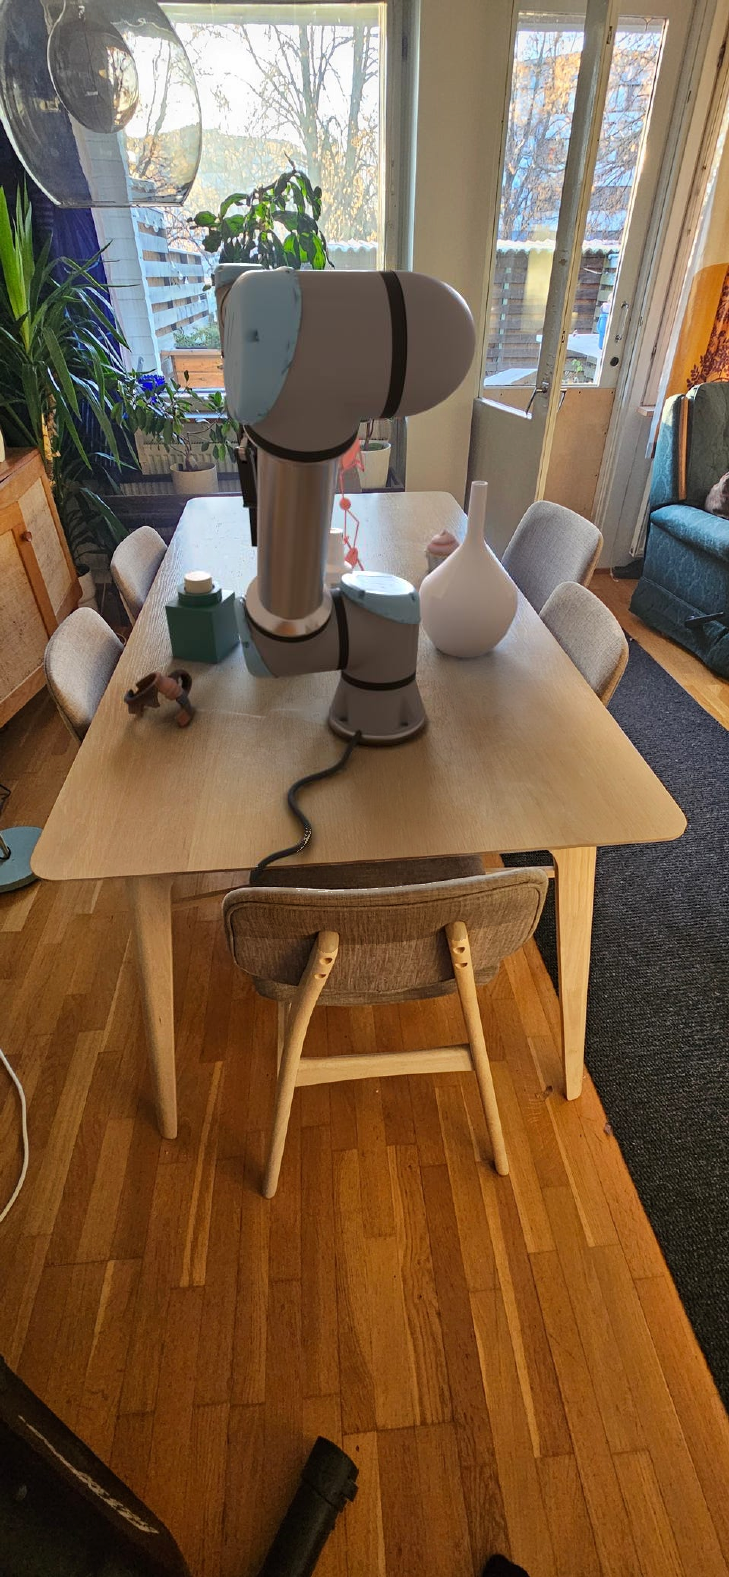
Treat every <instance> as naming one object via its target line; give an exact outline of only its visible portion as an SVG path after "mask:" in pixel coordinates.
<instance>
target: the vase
mask: <svg viewBox="0 0 729 1577" xmlns="http://www.w3.org/2000/svg"><path fill="white" fill-rule="evenodd" d="M488 485H489V484H488V482H487V481H484V480H474V481H472V482H471V488H470V494H469V501H468V502H469V503H468V511H467V520H466V530H465V535H464V537H463V540H462V541H461V542H460V543H459V545H460V546H459V547H458V548H457V549H456V550H455V551H454V552H453V553H452V554H451V555H450V556H449V557H448V558H447V559H446V560H445V561H444V562H443V563H442V564H441V565H440V566H438V567H437V568H436V569H435V570H434V571H433V572H431V573H430V572H429V574H428V575H426V576H425V577H424V579H423V580H422V581H421V584H420V588H419V591H418V593H419V597H420V617H421V624H422V628H423V630H424V631H425V633H426V635H427V637H428V638H429V640H430V641H431V643H432V644H433V645H434V646H435V647H436V648H437V649H438V650H440V651H441V652H442V653H444V654H446V655H449V656H452V657H459V658H476V657H479V656H483V655H485V654H487V653H488V652H490V651H492V650H493V649H494V648H495V647H497V645H499V643H500V642H501V641H502V640H503V639H504V638H505V637H506V635H507V633H508V631H509V629H510V627H511V625H512V623H513V622H514V619H515V618H516V615H517V611H518V606H519V596H518V595H519V594H518V588H517V584H515V582H514V581H513V580H512V579H511V578H510V576H509V575H508V574H507V573H506V572H505V570H504V569H503V567H501V565H500V564H499V562H498V561H497V560H496V559H495V557H494V555H493V554H492V553H491V551H490V550H489V549H488V547H487V544H486V541H485V538H484V528H485V519H486V508H487V496H488Z"/></svg>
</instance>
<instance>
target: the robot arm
mask: <svg viewBox="0 0 729 1577" xmlns="http://www.w3.org/2000/svg"><path fill="white" fill-rule="evenodd" d="M213 272H214V273H213V274H214V290H213V292H214V297H215V303H216V304H215V305H216V312H217V323H218V332H219V341H220V343H219V344H220V356H221V363H219V366H218V368H219V370H220V371H221V372H222V376H223V386H224V392H225V393H224V403H225V413H226V417H227V419H229V420H231V421H234V422H235V423H238V432H237V434H236V441H237V442H236V443H237V445H238V446H235V447H234V448H233V454H234V457H235V461H236V465H237V470H238V471H237V472H238V477H239V486H240V490H241V491H240V492H241V497H242V502H243V503H242V508H245V509H248V518H249V531H250V543H251V547H253V548H256V576H255V577H254V578H253V579H252V580H251V582H250V583H249V584H248V587H247V588H246V592H245V594H243V595H241V596H237V597H235V600H234V609H235V615H236V620H237V626H238V631H239V639H240V644H241V648H242V653H243V658H244V662H245V665H246V670H247V672H248V673H249V675H251V676H252V677H253V678H256V679H267V678H272V679H279V678H285V677H293V676H294V677H295V676H302V675H310V674H319V673H325V672H335V671H337V672H338V671H340V678H339V681H338V684H337V686H336V689H335V692H334V695H333V698H332V701H331V703H330V705H329V706H330V707H329V712H328V713H329V725H330V728H331V729H332V730H333V731H334V732H335V733H336V734H337V735H338V736H340V737H341V738H343V739H345V740H347V741H349V743H348V744H347V746H346V748H345V750H344V751H345V752H344V753H343V755H342V757H341V759H340V760H339V761H338V762H337V763H335V764H334V765H332V766H331V767H329V768H327V769H324V770H322V771H318V772H315V773H313V774H310V775H308V776H305V777H302V778H301V779H299V780H297V781H296V782H294V784H292V785H291V786H290V788H289V790H288V792H287V798H286V800H287V804H288V807H289V808H290V810H291V811H292V813H293V814H294V815H295V817H296V818H297V820H298V821H299V822H300V824H301V825H302V828H303V830H304V836H303V838H302V840H303V839H304V837H305V838H307V837H308V835H309V834H310V832H309V831H311V834H310V837H309V839H308V841H307V843H306V844H305V841H306V839H305V840H303V841H302V840H301V841H300V842H301V843H300V842H299V843H297V844H296V845H294V846H292V847H288V848H285V849H282V850H279V851H276V852H274V853H271V854H269V855H267V856H266V857H265V858H263V859H262V860H261V861H259V863H258V864H257V865H256V866H258V867H256V866H255V867H254V869H253V870H252V872H251V874H250V877H249V879H248V881H249V883H255V882H256V881H258V878H259V877H260V875H261V873H262V872H263V871H264V870H265V868H266V867H268V866H269V865H271V864H272V863H274V862H276V861H278V860H281V859H284V858H287V857H290V856H294V855H295V854H298V853H300V852H302V851H303V850H304V849H306V848H307V847H308V845H309V844H310V842H311V840H312V837H313V836H312V835H313V829H312V827H311V824H310V822H309V820H308V818H307V817H306V816H305V815H304V813H303V812H302V811H301V809H300V808H299V807H298V805H297V803H296V800H295V795H296V793H297V791H298V790H299V789H301V787H303V786H305V785H306V784H309V783H312V782H315V781H318V780H320V779H324V778H326V777H329V776H331V775H333V774H335V773H337V772H338V771H339V770H340V769H342V768H343V767H344V766H345V765H346V764H347V763H348V761H349V759H350V757H351V755H352V753H353V750H354V749H355V747H356V746H357V744H358V745H364V746H371V747H385V746H394V745H399V744H403V743H405V742H408V741H410V740H412V739H414V738H416V737H417V736H418V735H419V734H421V732H422V731H423V729H424V727H425V722H426V720H425V719H426V708H425V706H424V702H423V699H422V694H421V692H420V688H419V685H418V682H417V666H418V650H419V636H420V625H421V624H420V623H422V621H421V617H420V597H419V591H418V590H417V588H416V587H415V586H414V585H413V584H412V583H411V582H409V581H407V580H405V579H404V578H401V577H398V576H395V575H392V574H390V573H385V572H379V571H372V570H370V571H369V570H364V571H362V570H356V571H352V572H351V573H350V574H345V575H344V576H343V577H342V578H341V580H340V582H339V588H337V589H328V587H327V586H326V584H325V583H324V577H325V569H326V561H327V553H328V545H329V537H330V529H331V528H332V520H333V514H334V513H333V512H334V505H335V504H334V503H335V496H336V489H337V480H338V475H339V474H338V473H339V467H338V466H339V458H340V457H341V458H343V455H345V454H346V453H347V452H348V451H349V450H350V449H351V448H352V446H353V445H354V443H355V442H356V439H357V436H358V435H359V431H360V424H361V420H381V419H382V420H383V419H399V418H403V419H404V418H408V417H413V416H416V415H419V414H422V413H424V412H428V411H429V410H431V409H433V408H435V407H437V406H438V405H439V404H442V403H444V401H446V400H447V399H448V398H449V397H450V396H451V395H452V394H453V393H454V392H455V391H456V390H457V389H459V387H460V386H461V384H462V383H463V382H464V380H465V379H466V376H467V375H468V373H469V371H470V369H471V366H472V363H473V360H474V356H475V352H476V346H477V345H476V343H477V338H476V327H475V321H474V317H473V314H472V313H471V310H470V308H469V306H468V304H467V302H466V300H465V299H464V298H463V297H462V296H461V295H460V293H459V292H458V291H457V290H455V289H454V288H453V287H451V285H449V284H447V283H445V282H444V281H442V280H441V279H438V278H436V277H433V276H431V275H428V274H425V273H420V272H415V271H411V270H393V269H391V270H390V269H389V270H369V269H368V270H365V269H363V270H362V269H361V270H353V269H352V270H351V269H350V270H349V269H348V270H347V269H346V270H345V269H344V270H343V269H341V270H340V269H339V270H337V269H336V270H335V269H332V270H331V269H325V270H324V269H321V270H319V269H294V268H293V267H291V266H284V265H283V266H280V267H277V268H275V269H267V268H266V267H265V266H264V265H262V264H259V263H257V264H256V263H219V264H217V265H216V266H215V268H214V271H213ZM358 437H359V436H358ZM306 828H307V829H306ZM310 829H311V830H310ZM306 831H308V832H306ZM305 834H306V835H307V836H305ZM304 844H305V845H304ZM303 846H304V847H303ZM301 847H303V848H302V849H301ZM300 849H301V850H300ZM298 850H299V851H298ZM297 851H298V852H297Z"/></svg>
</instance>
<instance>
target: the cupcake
mask: <svg viewBox="0 0 729 1577" xmlns="http://www.w3.org/2000/svg"><path fill="white" fill-rule="evenodd" d="M459 546H460V543H459V541H458V540H457V539H456V537H455V535H454V534H453V533H452V532H451V531H449V530H446V529H443V530H442V531H441V532H440V533H438V534H435V535H434V536H433V537H432V539H430V541H429V542H428V543H427V545H426V548H425V549H423V552H424V555H425V558H426V560H427V561H426V562H427V567H428V571H429V574H430V573H431V572H433V571H434V570H435V569H436V568H437V567H438V566H440V565H441V564H442V563H443V562H444V561H445V560H446V559H447V558H448V557H449V556H450V555H451V554H452V553H453V552H454V551H455V550H456V549H457V548H458V547H459Z"/></svg>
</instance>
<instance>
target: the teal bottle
mask: <svg viewBox="0 0 729 1577" xmlns="http://www.w3.org/2000/svg"><path fill="white" fill-rule="evenodd" d="M212 585H213V590H212V591H209V592H205V593H188V592H186V588H185V582H182V583H181V584H179V585H178V586H177V587H176V591H177V595H176V596H175V597H173V599H172V600H170V601H169V602H168V603H166V604H165V605H164V610H165V616H166V621H167V627H168V634H169V640H170V647H171V654H172V657H173V658H178V659H184V660H191V661H198V662H204V663H212V664H219V663H220V662H221V661H222V660H223V659H224V658H225V657H226V656H227V655H228V653H230V652H231V651H232V649H234V647H235V646H236V645H238V643H239V642H241V639H240V636H239V631H238V626H237V620H236V615H235V609H234V600H235V599H236V591H235V590H228V589H227V590H226V589H222V585H221V583H220V582H217V581H214V580H212Z"/></svg>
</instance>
